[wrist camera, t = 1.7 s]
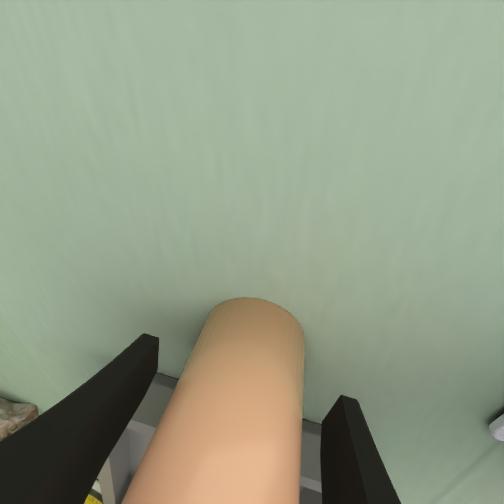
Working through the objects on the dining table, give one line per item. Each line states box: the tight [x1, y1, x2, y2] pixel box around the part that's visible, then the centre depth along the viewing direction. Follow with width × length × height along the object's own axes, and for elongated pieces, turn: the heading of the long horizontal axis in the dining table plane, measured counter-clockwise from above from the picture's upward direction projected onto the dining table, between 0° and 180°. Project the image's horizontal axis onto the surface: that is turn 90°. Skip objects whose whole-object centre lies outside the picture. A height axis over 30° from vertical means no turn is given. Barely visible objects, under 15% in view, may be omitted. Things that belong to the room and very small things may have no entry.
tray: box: [98, 373, 322, 504], centre depth 19 cm, size 14×18×3 cm
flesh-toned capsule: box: [121, 298, 305, 504], centre depth 9 cm, size 5×5×8 cm
